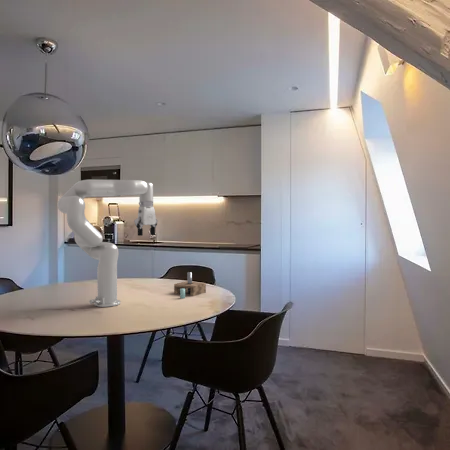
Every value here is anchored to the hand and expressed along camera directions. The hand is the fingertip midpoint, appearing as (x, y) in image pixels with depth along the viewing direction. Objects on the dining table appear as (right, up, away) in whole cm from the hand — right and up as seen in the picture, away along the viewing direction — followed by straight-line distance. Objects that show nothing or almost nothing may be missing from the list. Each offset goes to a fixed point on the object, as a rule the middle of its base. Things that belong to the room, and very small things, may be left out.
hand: (146, 235), depth 201 cm
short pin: (+21, -34, -4) cm, 40 cm away
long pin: (+23, -34, +9) cm, 42 cm away
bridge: (+23, -34, +9) cm, 42 cm away
